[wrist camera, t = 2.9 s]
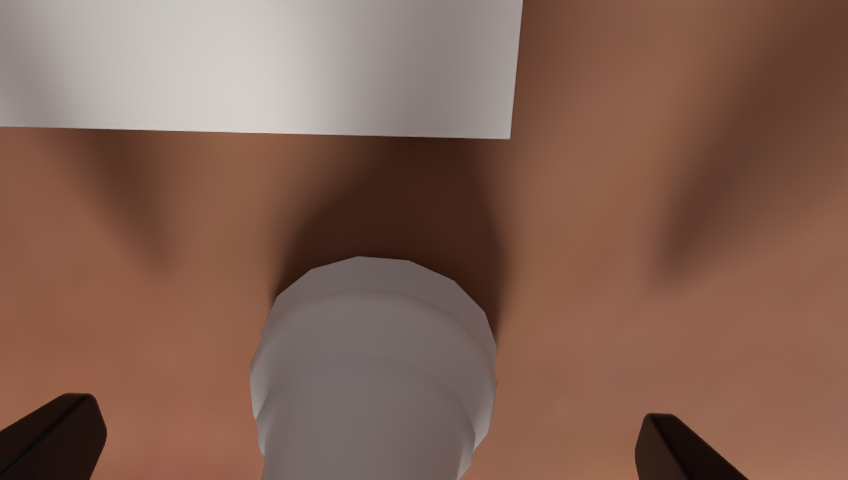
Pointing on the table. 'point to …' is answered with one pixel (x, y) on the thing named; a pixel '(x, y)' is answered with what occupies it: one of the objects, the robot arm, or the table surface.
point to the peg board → (262, 66)
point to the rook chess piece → (372, 375)
